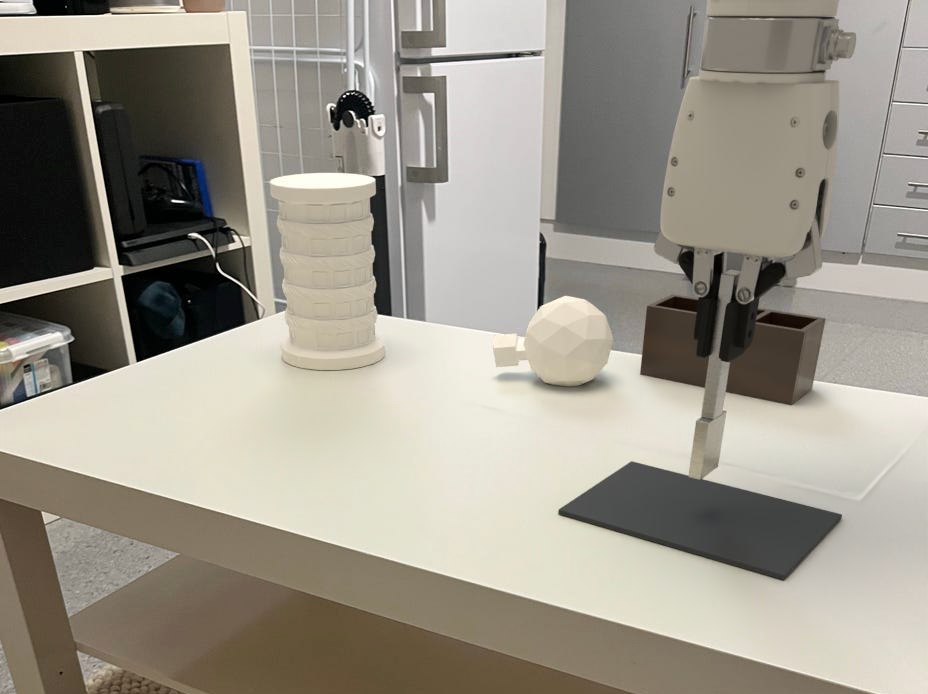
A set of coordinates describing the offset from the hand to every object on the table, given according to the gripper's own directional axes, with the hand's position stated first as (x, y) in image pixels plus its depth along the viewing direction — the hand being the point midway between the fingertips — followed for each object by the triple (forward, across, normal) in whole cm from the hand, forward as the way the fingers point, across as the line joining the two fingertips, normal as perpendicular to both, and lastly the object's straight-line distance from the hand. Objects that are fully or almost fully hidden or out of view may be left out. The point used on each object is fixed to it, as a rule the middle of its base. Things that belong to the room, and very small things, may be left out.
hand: (720, 353), depth 71 cm
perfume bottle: (+13, +26, -21) cm, 36 cm away
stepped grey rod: (+9, 0, 0) cm, 9 cm away
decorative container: (+13, +51, -15) cm, 55 cm away
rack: (+13, +11, -30) cm, 34 cm away
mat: (+13, 0, 0) cm, 13 cm away
